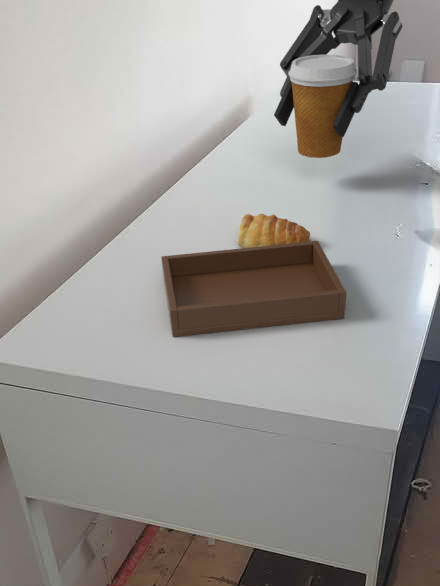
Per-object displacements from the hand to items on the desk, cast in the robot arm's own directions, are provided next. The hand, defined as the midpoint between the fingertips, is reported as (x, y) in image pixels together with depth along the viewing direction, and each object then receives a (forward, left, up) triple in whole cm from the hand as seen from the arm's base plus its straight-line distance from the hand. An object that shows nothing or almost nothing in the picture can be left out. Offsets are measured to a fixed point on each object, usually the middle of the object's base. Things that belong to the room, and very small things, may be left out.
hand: (308, 125), depth 103 cm
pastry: (+9, +17, -10) cm, 21 cm away
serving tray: (+14, +31, -10) cm, 35 cm away
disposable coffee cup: (-2, -2, -5) cm, 6 cm away
